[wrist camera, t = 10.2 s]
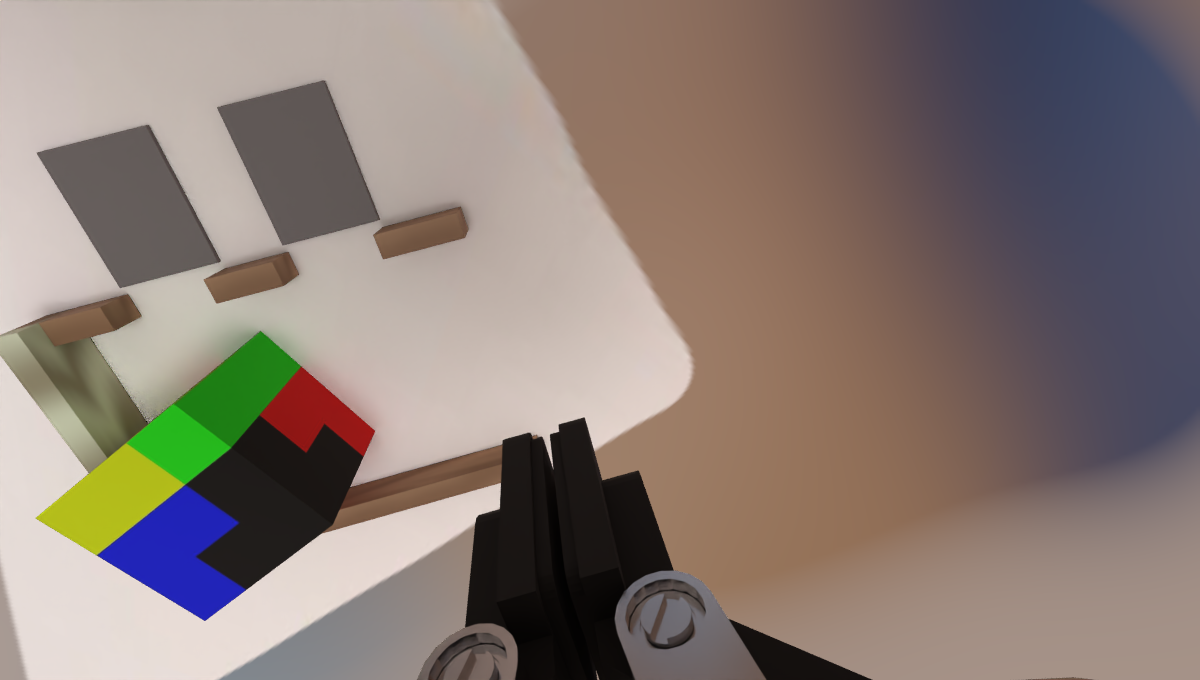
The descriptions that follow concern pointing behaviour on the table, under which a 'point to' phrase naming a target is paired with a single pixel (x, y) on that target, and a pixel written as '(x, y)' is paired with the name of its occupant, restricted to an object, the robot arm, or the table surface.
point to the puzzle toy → (220, 481)
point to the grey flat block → (130, 205)
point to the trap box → (90, 388)
